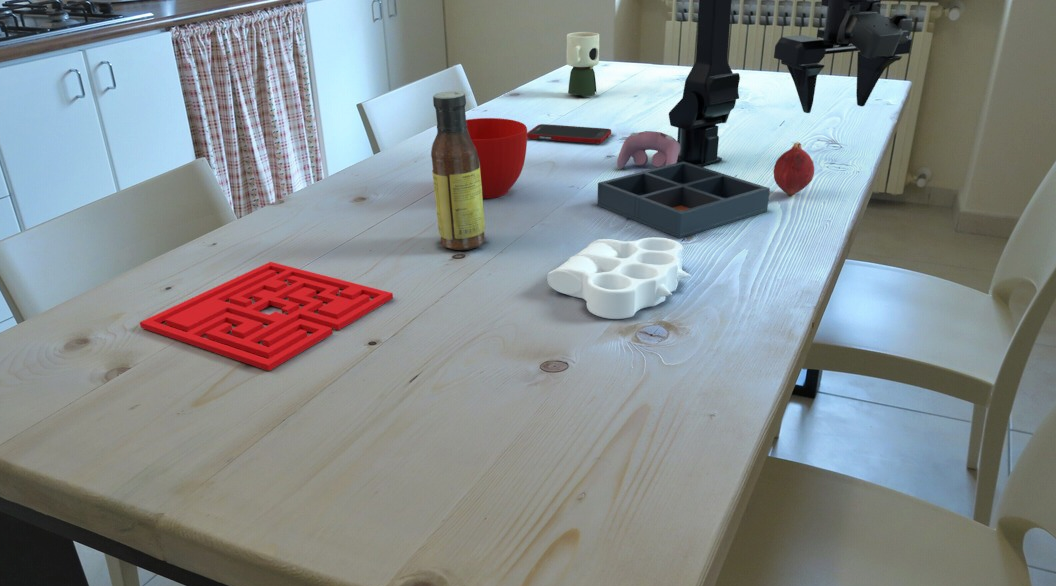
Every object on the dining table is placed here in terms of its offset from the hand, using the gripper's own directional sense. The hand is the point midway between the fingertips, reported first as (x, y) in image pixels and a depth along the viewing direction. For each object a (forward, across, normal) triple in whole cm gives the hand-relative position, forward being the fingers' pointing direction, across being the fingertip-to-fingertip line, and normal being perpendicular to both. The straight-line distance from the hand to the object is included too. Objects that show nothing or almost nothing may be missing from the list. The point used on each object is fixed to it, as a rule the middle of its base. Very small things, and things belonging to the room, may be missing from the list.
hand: (833, 109), depth 125 cm
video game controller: (+14, -15, +25) cm, 33 cm away
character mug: (+14, -2, +80) cm, 81 cm away
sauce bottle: (+14, -54, +5) cm, 56 cm away
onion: (+14, -2, +4) cm, 14 cm away
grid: (+14, -20, +6) cm, 25 cm away
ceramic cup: (+14, -46, +24) cm, 53 cm away
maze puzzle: (+14, -81, -7) cm, 83 cm away
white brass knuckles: (+14, -41, -16) cm, 46 cm away
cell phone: (+14, -19, +49) cm, 54 cm away
